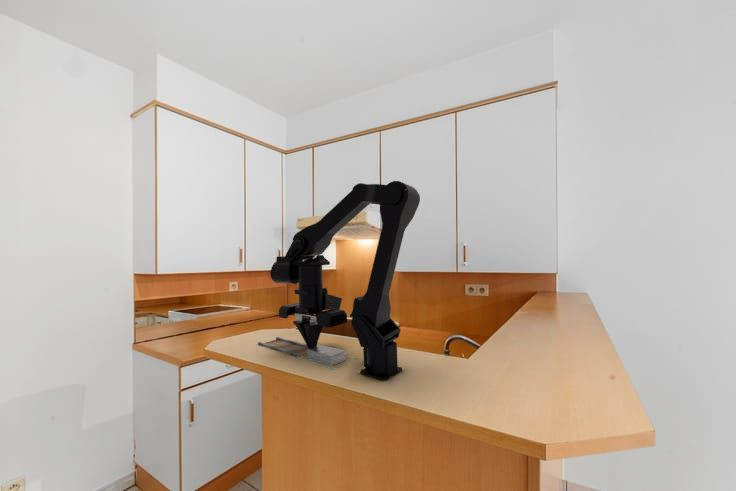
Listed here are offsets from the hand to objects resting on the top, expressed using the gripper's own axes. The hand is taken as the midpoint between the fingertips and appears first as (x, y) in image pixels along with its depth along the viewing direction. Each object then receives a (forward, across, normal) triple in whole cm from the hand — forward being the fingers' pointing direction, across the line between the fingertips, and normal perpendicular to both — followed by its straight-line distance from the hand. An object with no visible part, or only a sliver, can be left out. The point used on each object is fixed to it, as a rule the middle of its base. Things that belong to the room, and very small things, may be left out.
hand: (312, 350), depth 73 cm
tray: (+2, -4, 0) cm, 5 cm away
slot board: (+2, +11, 0) cm, 11 cm away
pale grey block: (+2, -3, 0) cm, 3 cm away
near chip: (+2, -7, 0) cm, 7 cm away
